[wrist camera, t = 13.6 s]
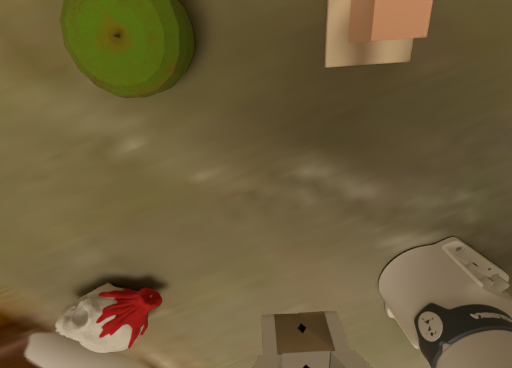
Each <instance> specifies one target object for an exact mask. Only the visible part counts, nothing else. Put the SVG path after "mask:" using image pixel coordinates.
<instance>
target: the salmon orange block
mask: <svg viewBox="0 0 512 368" xmlns="http://www.w3.org/2000/svg"><path fill="white" fill-rule="evenodd" d="M432 3H433V0H351V10H350V24H349V39H348V43H354V42H368V41H381V40H395V39H408V38H420V37H427V31H428V26H429V20H430V14H431V8H432Z"/></svg>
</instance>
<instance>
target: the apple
mask: <svg viewBox="0 0 512 368" xmlns="http://www.w3.org/2000/svg"><path fill="white" fill-rule="evenodd" d="M60 22H61V28H62V34H63V40H64V45H65V47H66V49H67V50H68V52H69V54H70V56H71V57H72V59H73V61H74V62H75V64H76V66H77V67H78V69H79V70H80V71H81V72H82V73H84V74H85V75H86V76H87V77H88V78H89V79H90V80H91V81H92V82H93V83H94V84H95V85H96V86H98V87H100V88H102V89H104V90H106V91H108V92H110V93H112V94H114V95H116V96H119V97H124V98H132V97H148V96H151V95H154V94H156V93H159V92H162V91H165V90H167V89H169V88H171V87H173V86H174V84H175V83H176V82H177V81H178V80H179V79H180V78H181V77H182V76H183V74H184V73H185V72H186V71H187V69H188V67H189V65H190V62H191V59H192V57H193V54H194V51H195V49H194V35H193V28H192V26H191V23H190V20H189V18H188V15H187V12H186V10H185V8H184V7H183V6H182V4H181V3H180V2H179V1H178V0H63V6H62V11H61V17H60Z"/></svg>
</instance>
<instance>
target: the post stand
mask: <svg viewBox="0 0 512 368" xmlns="http://www.w3.org/2000/svg"><path fill="white" fill-rule="evenodd" d="M350 10H351V0H327V14H326V40H325V65H324V67H339V66H353V65H367V64H381V63H395V62H410V57H411V51H412V44H413V38H408V39H395V40H381V41H368V42H354V43H348V39H349V24H350Z"/></svg>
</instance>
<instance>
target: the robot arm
mask: <svg viewBox="0 0 512 368" xmlns="http://www.w3.org/2000/svg"><path fill="white" fill-rule="evenodd" d="M508 281H509V276H508V275H507V274H506V273H505V272H504V271H503V270H502V269H500V268H499V267H498V266H496V265H495V264H493V263H492V262H491V261H489V260H488V259H486V258H485V257H483V256H482V255H481V254H479V253H478V252H476V251H475V250H474V249H472V248H471V247H469V246H468V245H467V244H465V243H464V242H462V241H461V240H460V239H458V238H456V237H450V238H447V239H445V240H443V241H441V242H438V243H436V244H433V245H428V246H422V247H418V248H414V249H412V250H409V251H407V252H405V253H403V254H401V255H399V256H398V257H396V258H395V259H394V260H393V261H391V262H390V263H389V264H388V266H387V267H386V268H385V269H384V271H383V272H382V274H381V277H380V280H379V291H380V294H381V296H382V297H383V299H384V301H385V311H386V313H387V314H388V316H389V317H391V318H395V319H396V321H397V322H398V324H399V325H400V327H401V328H402V330H403V331H404V333H405V334H406V336H407V337H408V339H409V340H410V341H411V343H412V344H413V346H414V347H416V348H417V349H420V350H421V352H422V353H423V355H424V358H425V360H426V362H427V363H428V365H429V366H430V367H431V368H512V297H511V296H510V295H509V294H508V293H507V292H506V291H504V290H506V289H507V288H508V287H510V284H509V283H508ZM261 326H262V349H263V355H260V356H259V357H258V358H257V360H256V362H255V364H254V365H253V367H252V368H372V367H371V366H370V365H369V364H368V363H367V362H366V361H365V360H364V359H363V358H362V357H361V356H360V355H359V354H358V353H357V352H356V351H355V350H350V348H349V345H348V342H347V339H346V336H345V333H344V330H343V327H342V324H341V321H340V318H339V315H338V313H337V312H336V311H324V312H323V311H319V312H306V313H298V314H269V315H261Z"/></svg>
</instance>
